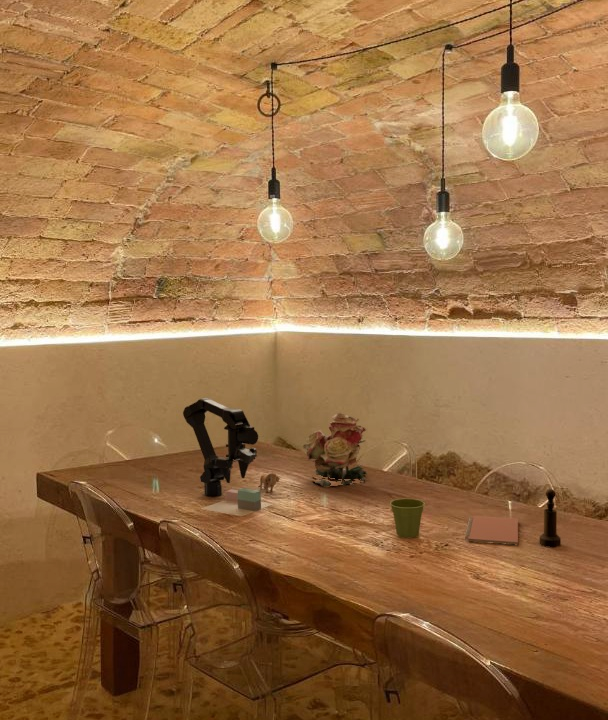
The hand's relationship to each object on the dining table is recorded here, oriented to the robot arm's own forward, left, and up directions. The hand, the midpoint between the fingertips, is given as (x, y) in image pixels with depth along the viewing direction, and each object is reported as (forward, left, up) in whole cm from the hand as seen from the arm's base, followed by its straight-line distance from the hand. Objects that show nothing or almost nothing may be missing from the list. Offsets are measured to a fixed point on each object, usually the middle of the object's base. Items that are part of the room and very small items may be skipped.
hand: (235, 480), depth 302 cm
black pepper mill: (+120, +12, -9) cm, 121 cm away
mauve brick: (0, 0, -8) cm, 8 cm away
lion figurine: (+2, +19, -9) cm, 21 cm away
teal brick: (+12, -7, -5) cm, 15 cm away
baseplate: (+6, -7, -9) cm, 13 cm away
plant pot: (+77, -4, -9) cm, 78 cm away
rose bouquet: (+16, +51, -9) cm, 54 cm away
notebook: (+100, +15, -9) cm, 101 cm away
